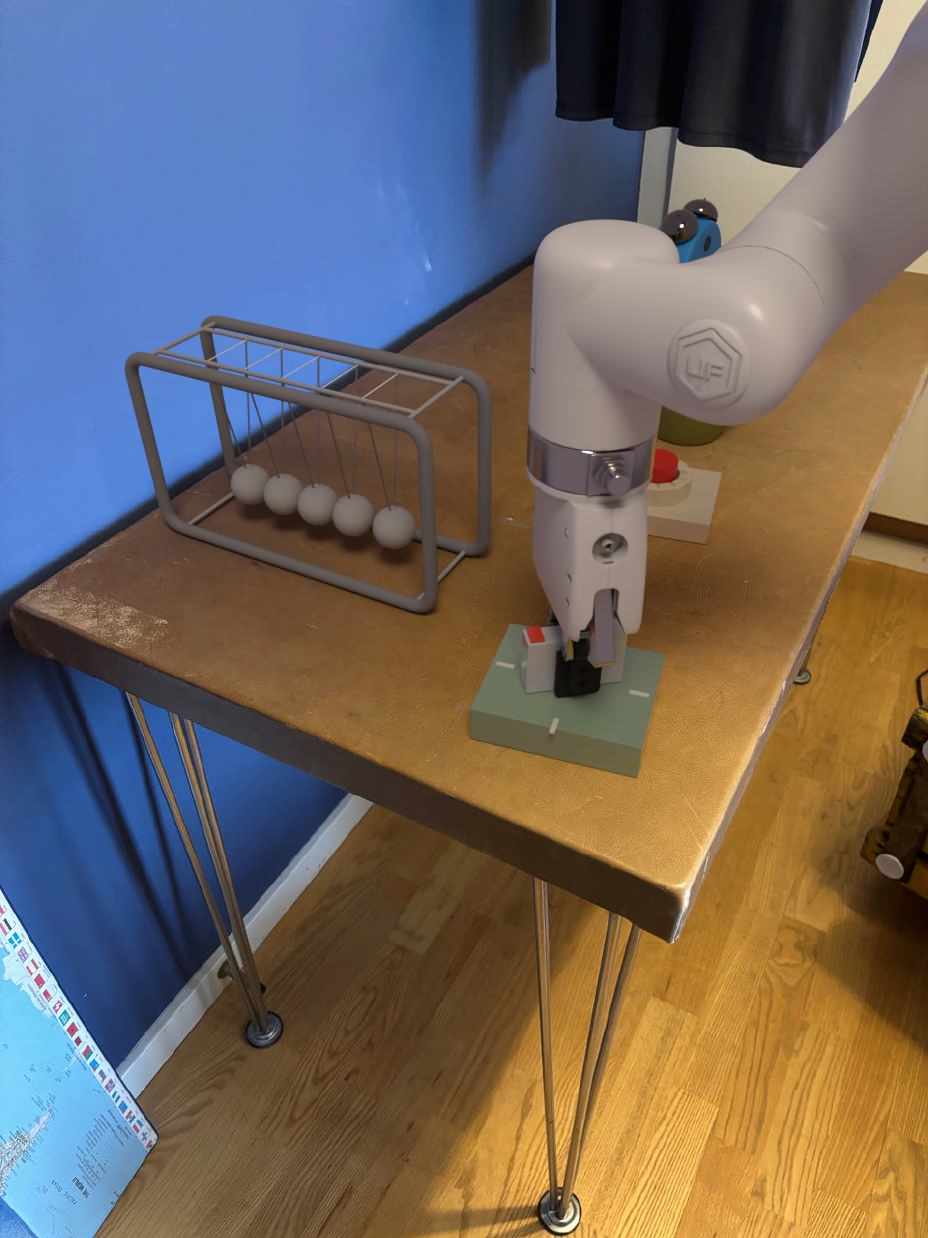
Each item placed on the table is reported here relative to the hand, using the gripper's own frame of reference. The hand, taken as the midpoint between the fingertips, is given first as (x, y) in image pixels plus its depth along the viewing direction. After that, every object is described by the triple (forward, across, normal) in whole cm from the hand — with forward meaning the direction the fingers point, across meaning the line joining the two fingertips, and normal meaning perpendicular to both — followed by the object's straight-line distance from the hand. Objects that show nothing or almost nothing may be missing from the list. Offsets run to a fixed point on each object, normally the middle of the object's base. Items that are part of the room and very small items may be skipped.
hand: (570, 678), depth 65 cm
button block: (+3, +26, -16) cm, 30 cm away
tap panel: (+3, 0, 0) cm, 3 cm away
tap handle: (0, 0, 0) cm, 0 cm away
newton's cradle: (+3, +26, +16) cm, 31 cm away
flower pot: (+3, +40, -25) cm, 47 cm away
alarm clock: (+3, +72, -37) cm, 81 cm away
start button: (0, +26, -16) cm, 30 cm away
